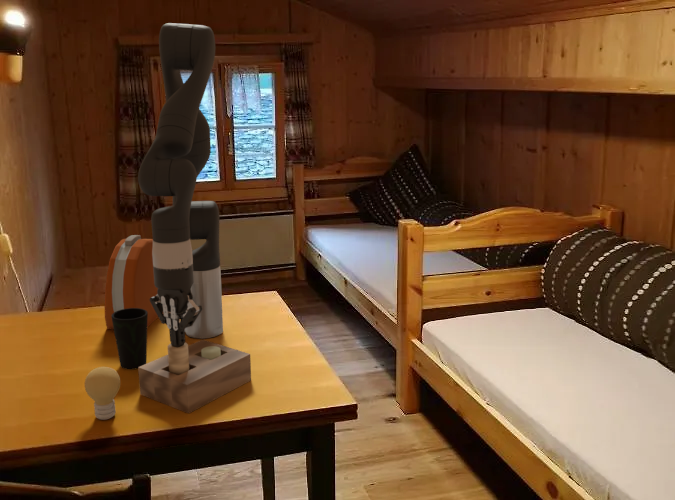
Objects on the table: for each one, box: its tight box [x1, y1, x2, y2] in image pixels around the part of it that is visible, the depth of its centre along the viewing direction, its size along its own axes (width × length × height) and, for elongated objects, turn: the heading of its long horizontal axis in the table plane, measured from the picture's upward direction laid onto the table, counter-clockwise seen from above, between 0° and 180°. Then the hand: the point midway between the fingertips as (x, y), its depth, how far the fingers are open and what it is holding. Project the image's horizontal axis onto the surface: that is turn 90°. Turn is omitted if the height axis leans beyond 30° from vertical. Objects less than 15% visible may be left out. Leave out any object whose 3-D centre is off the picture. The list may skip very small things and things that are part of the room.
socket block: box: [137, 339, 252, 414], centre depth 146 cm, size 14×18×6 cm
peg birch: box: [167, 342, 189, 375], centre depth 142 cm, size 4×4×7 cm
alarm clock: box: [104, 234, 164, 330], centre depth 183 cm, size 22×10×23 cm, turn 172°
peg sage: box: [201, 346, 221, 360], centre depth 150 cm, size 4×4×7 cm
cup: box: [111, 308, 148, 370], centre depth 157 cm, size 8×8×12 cm
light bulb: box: [84, 366, 121, 421], centre depth 134 cm, size 6×6×10 cm
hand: (177, 345), depth 141 cm, fingers closed
